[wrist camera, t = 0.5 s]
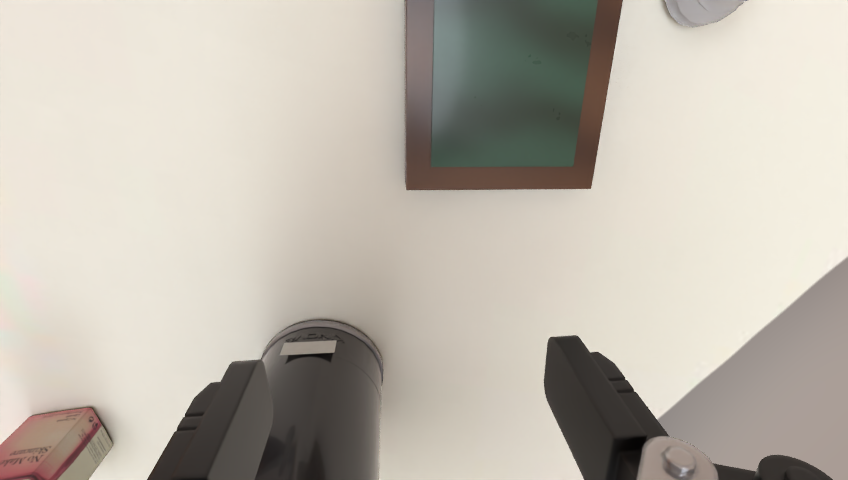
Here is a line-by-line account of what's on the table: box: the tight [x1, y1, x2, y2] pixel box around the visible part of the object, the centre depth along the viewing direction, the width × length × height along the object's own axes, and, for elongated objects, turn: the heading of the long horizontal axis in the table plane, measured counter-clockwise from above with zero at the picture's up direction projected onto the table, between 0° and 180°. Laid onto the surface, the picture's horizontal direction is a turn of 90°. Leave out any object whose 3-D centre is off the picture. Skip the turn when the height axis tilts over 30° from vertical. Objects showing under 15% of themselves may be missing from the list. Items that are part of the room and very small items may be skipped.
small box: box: [0, 408, 113, 480], centre depth 30 cm, size 5×4×8 cm
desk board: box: [405, 0, 623, 190], centre depth 24 cm, size 20×12×2 cm, turn 179°
